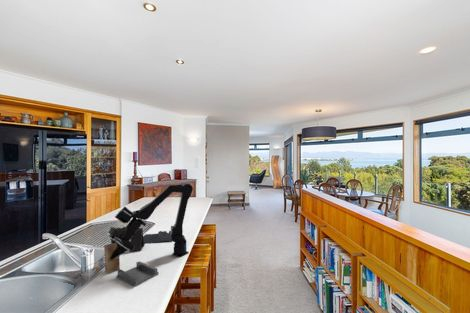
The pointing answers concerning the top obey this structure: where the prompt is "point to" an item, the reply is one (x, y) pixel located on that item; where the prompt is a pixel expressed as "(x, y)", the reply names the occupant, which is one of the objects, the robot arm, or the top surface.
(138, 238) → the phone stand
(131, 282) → the bottom track
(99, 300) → the top surface
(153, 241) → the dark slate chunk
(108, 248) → the walnut block
